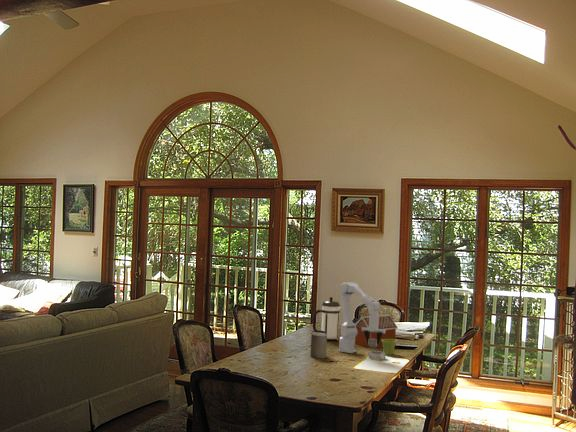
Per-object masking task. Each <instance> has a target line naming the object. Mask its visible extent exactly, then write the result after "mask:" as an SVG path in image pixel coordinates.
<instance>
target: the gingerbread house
mask: <svg viewBox="0 0 576 432" xmlns="http://www.w3.org/2000/svg"><path fill="white" fill-rule="evenodd" d="M354 324H355V325H356V328H357V331H358V333H357V335H356V338H355V342H354V345H357V346H361V347H364V348H369V349H373V348H372V347H369V344H367V340H366V337H365V334H364V331H362V327H364V328H369V315H367V316H362V317H361V318H359V319H358V321H357V322H356V323H354ZM398 328H399V326H397V324H396V322H395V320H394V319H393V318H392V316H391V315H390V314H382V315H381V314H380V315H379V321H378V329H383V330H385V333H383V334H382V336H381V338H380V341H379V345H377V347H376V348H381V347H382V348H383V343H382V339H393V340H396V337H397V336H396V334H397V333H396V331H397V330H398ZM377 333H378V332H370V336H369V339H377Z"/></svg>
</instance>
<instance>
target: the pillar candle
mask: <svg viewBox="0 0 576 432" xmlns="http://www.w3.org/2000/svg"><path fill="white" fill-rule="evenodd" d="M310 338H311V341H310V357H311V358H315V359H325V358H326V357H327V346H328V345H327V342H328V339H327V334H325V333H316V332H312V333H311V337H310Z"/></svg>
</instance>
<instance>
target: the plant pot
mask: <svg viewBox="0 0 576 432" xmlns="http://www.w3.org/2000/svg"><path fill="white" fill-rule="evenodd" d="M382 343H383V347H382V349H383V350H382V352H385V353H386V354H385V356H387V355H388V356H391V355H394V353H395V346H396V343H397V340H396V339H395V340H393V339H382Z"/></svg>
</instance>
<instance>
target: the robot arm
mask: <svg viewBox="0 0 576 432" xmlns="http://www.w3.org/2000/svg"><path fill="white" fill-rule="evenodd" d="M339 289H340V298H341V300H340V301H341V310H342V316H343V323H342V324H341V325H340V335H341V337H339V339H340V340H338V352H340V353H348V354H354V353H355V352H357V350H356V349H355V338H356V335H357V333H358V331H357V328H356V325H355V324H356V323H355V322H353V316H352V308H351V299H350V297H351V296H352V295H353V294H355V295H357V296H358V297H359V298H360V299H361V302H362V303H363V304H364V305H365V306H366V307H367V310H368V316H369V328H364V327H362V331H364V334H365V337H366V340H367V344H368V339H369V336H370V332H378V333H377V345H379V341H380V338H381V336H382V334H383V333H385V330H383V329H378V321H379V313H380V311H381V309H382V305H381V302H380V301H378V300H375V299H374V298H373V297H371V294H367V293H366V294H365V293H364V291H363V290H362V289H361V288H360V287H359V284H358V283H357V282H355V281H352V282H342V283H341V285H340V286H339Z"/></svg>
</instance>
